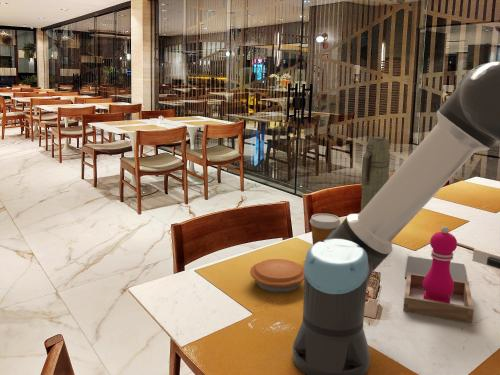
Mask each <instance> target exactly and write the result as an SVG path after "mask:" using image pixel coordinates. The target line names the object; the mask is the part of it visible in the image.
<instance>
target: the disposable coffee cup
mask: <svg viewBox="0 0 500 375" xmlns="http://www.w3.org/2000/svg"><path fill="white" fill-rule="evenodd" d="M309 223H310V226H311V238H312V245H314V244H315V243H317V242H323V241H324V240H326V239H327V237H328V236H329V235H330V233H331V232H332V231H333V230H335V229H336V228H338V227H339V226H340V224H341V223H342V222H341V221H340V217H339V216H337V215H335V214H331V213H315V214H312V215H311V218H310V220H309Z"/></svg>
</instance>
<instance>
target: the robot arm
mask: <svg viewBox="0 0 500 375" xmlns="http://www.w3.org/2000/svg"><path fill="white" fill-rule="evenodd" d="M436 118H437V122H436V125H434V127H433V128H432V129H431V131H430V132H428V134H427V135H426V136H425V137H424V138H423V140H422V141H421V142H420V143H419V144H418V145H417V146H416V147H415V148H414V149H413V151H412V152H411V154H409V156H408V157H406V159H405V160H404V162H402V164H401V165H400V166H399V167H398V168H397V169H396V170H395V172H394V173H393V174H392V175H391V176H390V177H389V180H388V181H387V182H386V183H385V185H384V186H383V187H382V188H381V189H380V190H379V191H378V193H377V194H376V195H375V196H374V197H373V198H372V200H371V201H370V202H369V203H368V204H367V205H366V206H365V208H364V209H363V210H362V211H361V210H360V212H359V213H349V214H347V216H346V218H345V219H344V220H343V221H342V222H341V224H340V226H339V227H338V228H336V229H335V230H333V231H332V232H331V233H330V235H329V236H328V237H327V239H326V240H324V241H323V242H317V243H315V244H314V245H313V244H312V245H311V246H310V247H309V248H308V250H307V252H306V255H305V260H304V263H303V267H304V274H305V275H304V280H303V282H304V283H303V304H302V305H303V307H302V321H301V324H300V327H299V329H298V331H297V332H296V336H295V339H294V341H293V345H292V361H293V362H294V365H295V367H296V368H297V369H298V370H299V371H300V372H301V373H302V374H304V375H305V374H306V375H366V374H367V373H368V371H369V370H370V369H369V368H370V362H371V351H370V348H369V345H368V341H367V337H366V334H365V330H364V320H365V308H366V297H367V295H366V294H367V290H368V286H369V284H370V281H371V277H372V274H373V272H374V271H375V270H376V269H377V268H378V266H380V265H381V264H382V263H383V261H384V260H386V259H387V257H388V256H389V255H390V254H392V252H393V240H394V239H395V238H396V237H397V236H398V235H399V234H400V232H401V231H402V230H403V229H404V228H405V227H406V226H407V225H408V224H410V222H411V221H412V220H413V218H415V217H416V215H418V213H419V212H420V211H421V210H422V209H423V208H424V207H425V206H426V205H427V204H428V202H430V201H431V199H432V198H434V196H435V195H436V194H437V193H438V192H439V191H440V190H441V189H442V188H443V187H444V186H445V185H446V183H448V181H450V180H451V178H452V177H454V175H455V174H456V173H457V172H458V171H459V170H460V168H462V166H463V165H464V164H465V163H466V162H467V161H468V160H469V159H470V158H471V157H472V156H473V155H474V153H476V152H481V151H489V150H490V149H492V147H493V146H494V145H495V144H496V143H497V142H500V61H491V62H487V63H483V64H480V65H478V66H476V67H474V68H472V69H470V70H469V71H468V72H467V73H466V74H465V75H464V76H463V78H462V79H461V80H460V82H459V83H458V85H457V88H456V89H454V90H453V92H452V93H451V94H450V96H449V97H448V98H447V99H446V100H445V102H444V103H443V104H442V105H441V106H440V107H439V109H438V110H437V111H436ZM472 262H475V263H477V264H478V263H479V264H482V265H485V266H488V267H490V268H495V269H498V270H500V254H497V253H494V252H490V251H486V250H483V249H479V248H476V247H475V248H473V254H472Z"/></svg>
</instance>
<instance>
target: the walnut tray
mask: <svg viewBox="0 0 500 375" xmlns="http://www.w3.org/2000/svg"><path fill="white" fill-rule="evenodd" d="M425 276H426V275H421V274H414V273H408V272H407V279H405V280H406V282H405V291H404V297H403V298H404V299H403V309H402V310H403V311H404V312H410V313H415V314H419V313H420V314H419V315H425V316H431V317H436V318H441V319H446V318H447V320H452V319H453V321H457V320H458V322H463V323H469V324H472V323H473V316H474V312H475V310H474V309H475V308H474V303H473V298H472V292H471V286H470V283H469V281H467V282H466V281H459V280H453V283H454V292H453V293H452V294H454V295H460V296H462V298H463V305H461V304H457V303H451V302H450V303H445V302H439V301H433V300H428V299H423V297H422V298H421V297H417V296H416V297H414V296H410V292H411V291H410V288H411V287H412V288H416V289H422V288H423V280H424V278H425ZM423 290H424V288H423ZM452 294H451V295H452Z"/></svg>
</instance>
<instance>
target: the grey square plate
mask: <svg viewBox="0 0 500 375" xmlns="http://www.w3.org/2000/svg"><path fill="white" fill-rule="evenodd" d="M432 261H433V258H431V259H430V258H424V257H417V256H412V255H411V256H410V255H407V258H406V266H405V268H406V269H405V276H404V279H405V280H407V272H408V273H414V274H421V275H426V274H427V273H428V272H429V270H430V268H431V266H432ZM449 269H450V274H451V277H452V279H453V280H459V281H466V282H468V278H467V271H466V267H465V264H464V263H458V262H452V261H450V268H449Z"/></svg>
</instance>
